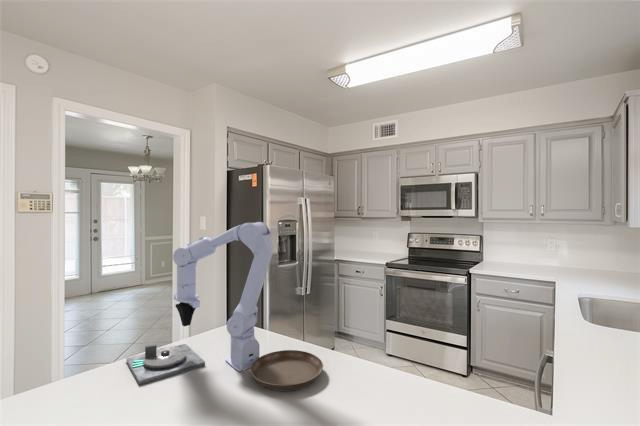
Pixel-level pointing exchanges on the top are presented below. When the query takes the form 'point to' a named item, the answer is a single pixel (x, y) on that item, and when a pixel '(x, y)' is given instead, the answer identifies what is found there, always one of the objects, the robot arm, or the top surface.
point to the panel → (152, 374)
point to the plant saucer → (286, 369)
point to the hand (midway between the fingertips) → (186, 325)
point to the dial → (163, 356)
